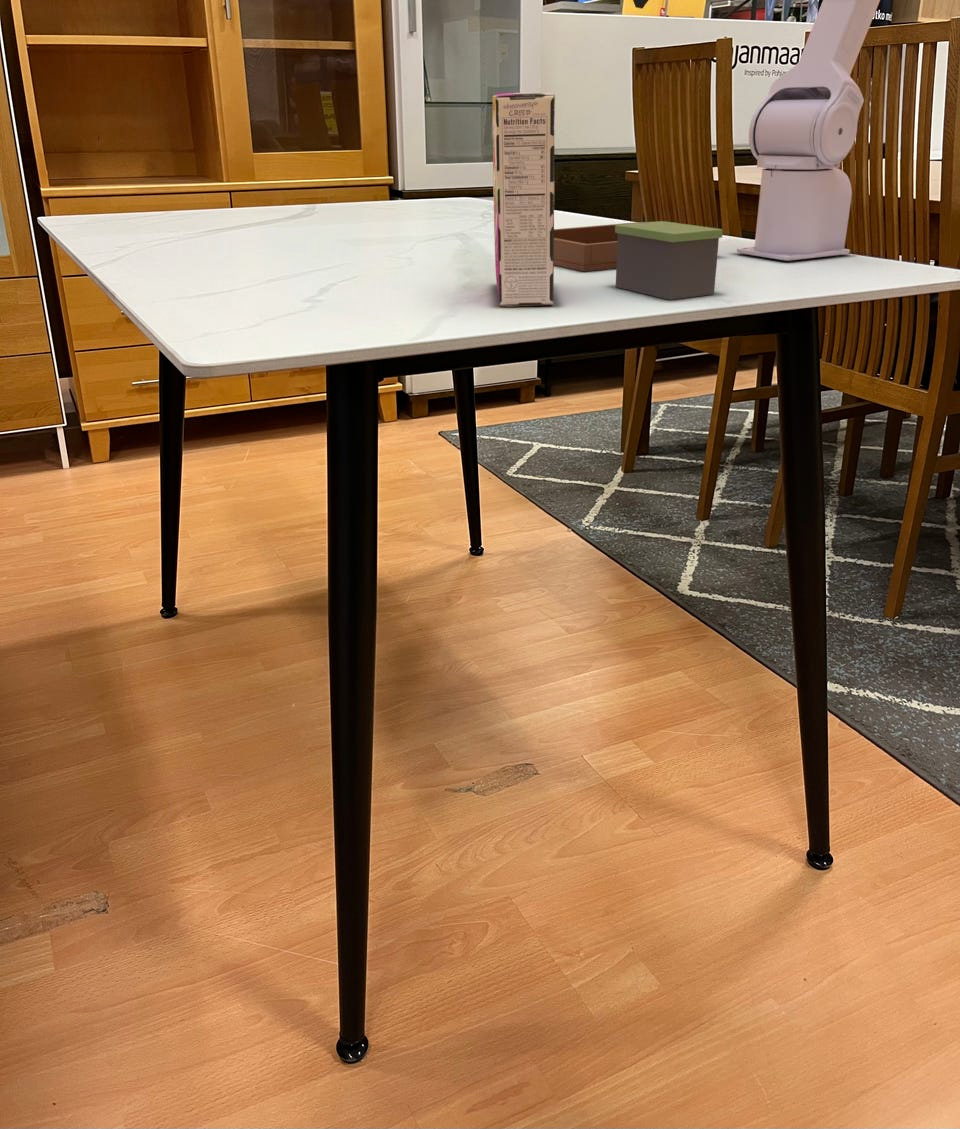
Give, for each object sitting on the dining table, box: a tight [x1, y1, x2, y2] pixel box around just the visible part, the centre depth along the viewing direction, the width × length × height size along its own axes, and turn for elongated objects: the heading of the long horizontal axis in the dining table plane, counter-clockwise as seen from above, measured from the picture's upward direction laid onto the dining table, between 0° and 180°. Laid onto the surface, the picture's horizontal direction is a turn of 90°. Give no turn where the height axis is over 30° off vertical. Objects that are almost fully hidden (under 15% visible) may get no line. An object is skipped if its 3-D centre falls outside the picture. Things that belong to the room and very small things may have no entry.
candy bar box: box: [492, 92, 556, 308], centre depth 83 cm, size 11×5×16 cm, turn 0°
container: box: [615, 220, 724, 301], centre depth 86 cm, size 5×8×6 cm, turn 28°
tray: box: [554, 221, 646, 273], centre depth 107 cm, size 18×14×3 cm
